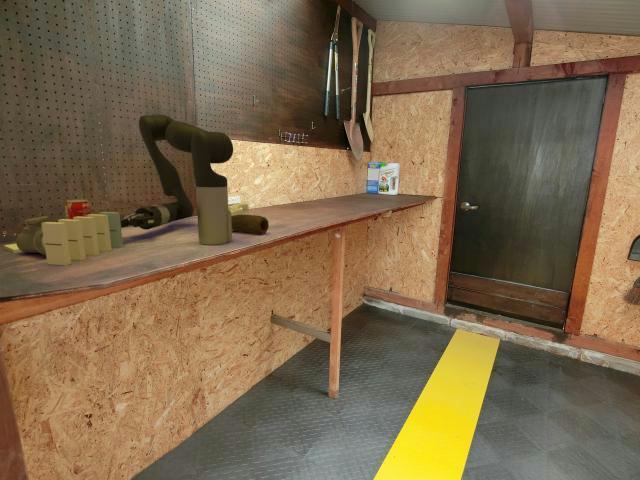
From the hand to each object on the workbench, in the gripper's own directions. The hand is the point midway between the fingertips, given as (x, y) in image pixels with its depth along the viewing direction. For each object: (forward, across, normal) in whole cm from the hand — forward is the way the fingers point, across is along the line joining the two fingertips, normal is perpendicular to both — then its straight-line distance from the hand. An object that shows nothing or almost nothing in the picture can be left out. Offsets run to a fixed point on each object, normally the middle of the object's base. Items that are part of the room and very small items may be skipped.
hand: (116, 224), depth 105 cm
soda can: (-6, -18, +6) cm, 20 cm away
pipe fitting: (+13, -12, +6) cm, 19 cm away
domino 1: (+20, 0, +6) cm, 21 cm away
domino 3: (+11, 0, +6) cm, 13 cm away
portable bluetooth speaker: (-28, +30, +6) cm, 41 cm away
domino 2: (+16, 0, +6) cm, 17 cm away
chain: (-50, +12, +6) cm, 52 cm away
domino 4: (+7, 0, +6) cm, 9 cm away
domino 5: (+2, 0, +6) cm, 6 cm away
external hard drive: (+7, -21, +7) cm, 23 cm away
